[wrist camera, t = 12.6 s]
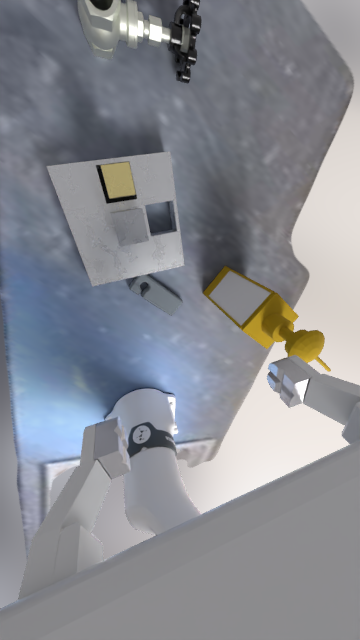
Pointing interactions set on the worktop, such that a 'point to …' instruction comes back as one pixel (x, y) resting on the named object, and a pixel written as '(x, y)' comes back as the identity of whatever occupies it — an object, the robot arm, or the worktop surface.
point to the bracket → (156, 294)
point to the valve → (140, 30)
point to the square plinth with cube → (120, 218)
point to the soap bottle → (263, 315)
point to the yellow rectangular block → (118, 180)
